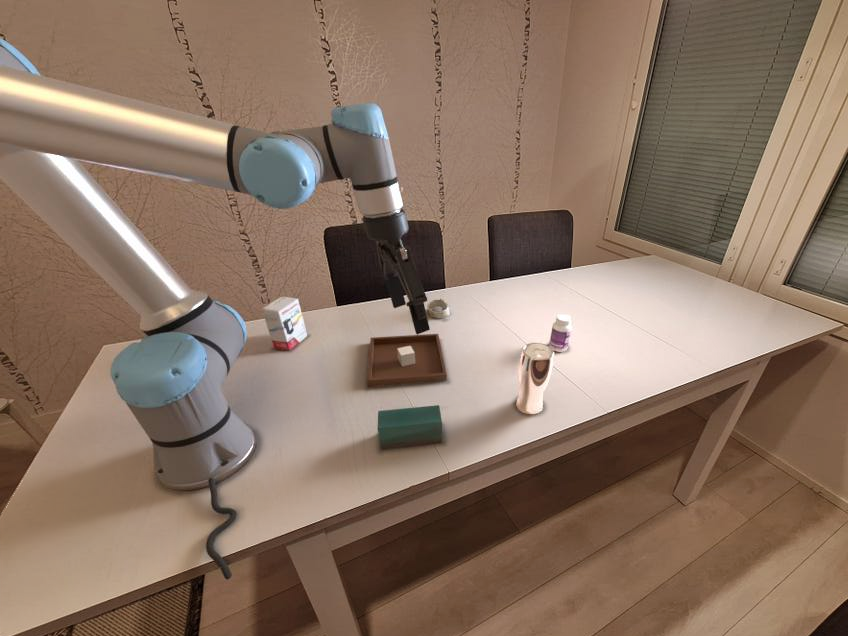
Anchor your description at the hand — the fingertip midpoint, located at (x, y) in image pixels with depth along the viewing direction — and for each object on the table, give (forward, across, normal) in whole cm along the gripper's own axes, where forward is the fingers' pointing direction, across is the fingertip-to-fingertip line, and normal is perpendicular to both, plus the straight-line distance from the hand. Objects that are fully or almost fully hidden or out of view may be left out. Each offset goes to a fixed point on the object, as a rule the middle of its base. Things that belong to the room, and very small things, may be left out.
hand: (410, 317), depth 76 cm
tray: (+19, +13, +1) cm, 23 cm away
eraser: (+19, -13, +9) cm, 25 cm away
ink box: (+14, +36, +26) cm, 46 cm away
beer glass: (+23, -16, -18) cm, 33 cm away
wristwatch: (+21, +34, -18) cm, 44 cm away
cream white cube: (+18, +12, +1) cm, 22 cm away
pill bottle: (+26, +1, -40) cm, 48 cm away
